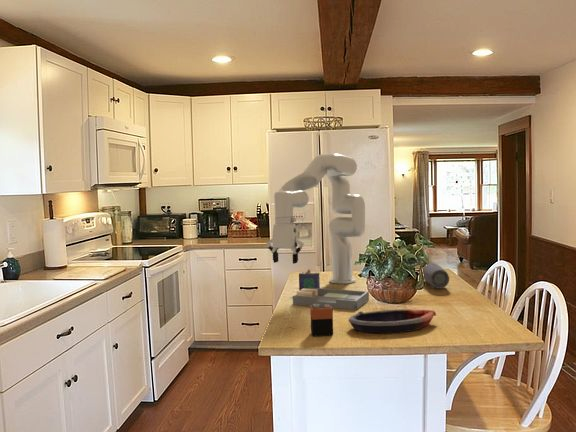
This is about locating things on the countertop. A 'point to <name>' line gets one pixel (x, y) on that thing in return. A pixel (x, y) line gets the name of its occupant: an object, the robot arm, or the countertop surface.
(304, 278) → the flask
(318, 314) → the battery
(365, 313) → the dish
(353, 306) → the board
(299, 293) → the beech block
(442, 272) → the bluetooth speaker
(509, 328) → the countertop surface
